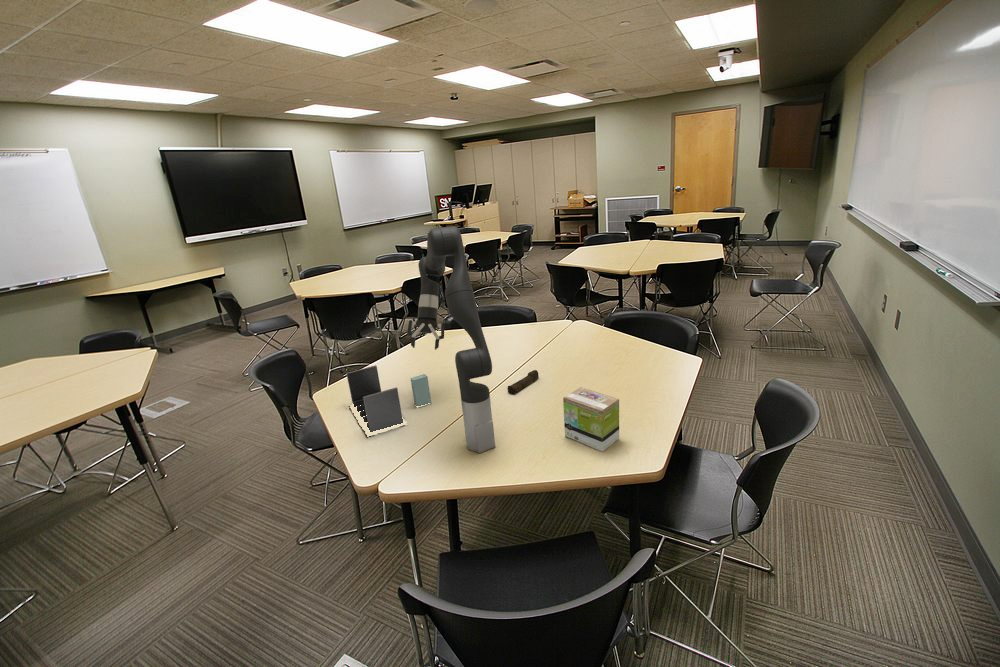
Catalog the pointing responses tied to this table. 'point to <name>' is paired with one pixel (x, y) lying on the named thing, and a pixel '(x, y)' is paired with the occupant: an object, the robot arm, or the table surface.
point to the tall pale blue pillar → (420, 390)
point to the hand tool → (523, 382)
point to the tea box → (591, 418)
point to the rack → (374, 399)
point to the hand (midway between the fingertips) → (424, 348)
